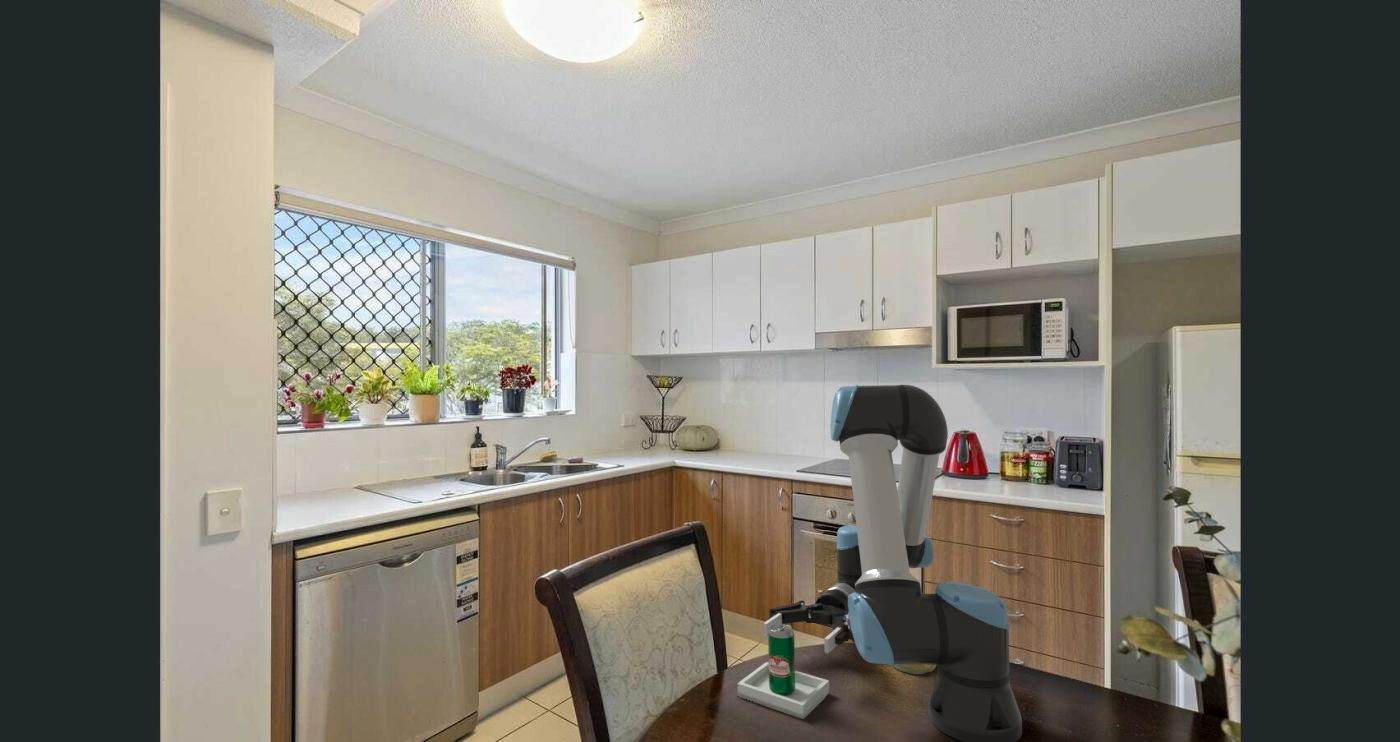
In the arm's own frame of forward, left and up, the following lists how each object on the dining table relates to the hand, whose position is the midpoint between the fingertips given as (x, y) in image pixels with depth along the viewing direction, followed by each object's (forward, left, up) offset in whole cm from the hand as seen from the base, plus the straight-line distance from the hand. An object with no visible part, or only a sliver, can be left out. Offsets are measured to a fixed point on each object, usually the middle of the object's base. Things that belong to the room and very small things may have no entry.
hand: (794, 637), depth 123 cm
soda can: (0, +5, -8) cm, 10 cm away
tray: (0, +5, -9) cm, 11 cm away
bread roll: (-17, -21, -10) cm, 29 cm away
